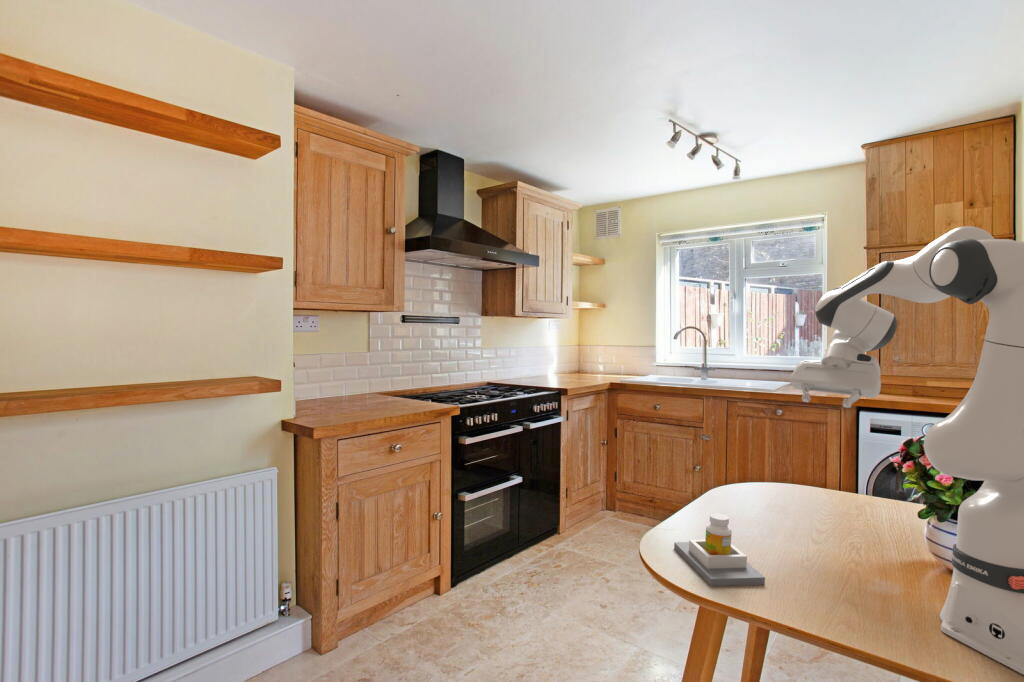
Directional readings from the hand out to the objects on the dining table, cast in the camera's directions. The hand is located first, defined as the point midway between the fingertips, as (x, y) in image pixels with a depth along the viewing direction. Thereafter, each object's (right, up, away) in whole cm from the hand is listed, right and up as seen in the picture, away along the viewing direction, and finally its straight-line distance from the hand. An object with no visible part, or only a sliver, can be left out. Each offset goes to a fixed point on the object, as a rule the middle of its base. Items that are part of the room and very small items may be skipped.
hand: (825, 403), depth 134 cm
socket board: (-33, -35, -14) cm, 50 cm away
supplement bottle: (-33, -34, -14) cm, 49 cm away
